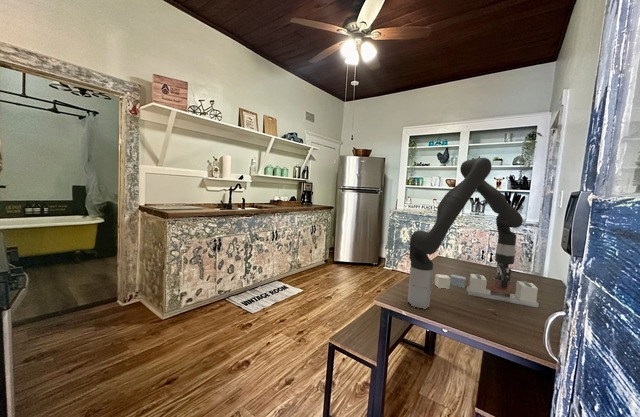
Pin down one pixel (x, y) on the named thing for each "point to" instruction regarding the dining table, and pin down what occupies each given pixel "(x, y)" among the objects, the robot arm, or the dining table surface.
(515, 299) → the rail
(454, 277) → the block
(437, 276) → the block
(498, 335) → the dining table surface
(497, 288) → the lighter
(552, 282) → the dining table surface
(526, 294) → the mounted modules
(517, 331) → the dining table surface
